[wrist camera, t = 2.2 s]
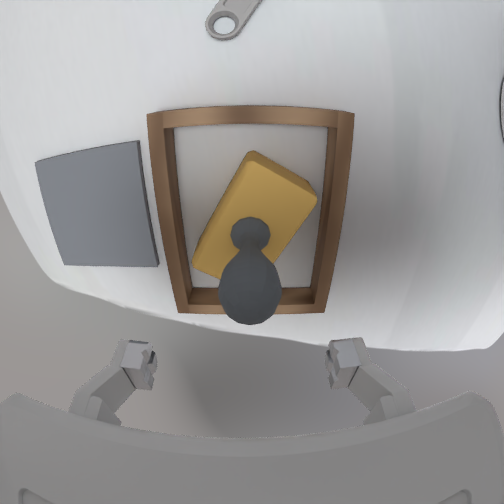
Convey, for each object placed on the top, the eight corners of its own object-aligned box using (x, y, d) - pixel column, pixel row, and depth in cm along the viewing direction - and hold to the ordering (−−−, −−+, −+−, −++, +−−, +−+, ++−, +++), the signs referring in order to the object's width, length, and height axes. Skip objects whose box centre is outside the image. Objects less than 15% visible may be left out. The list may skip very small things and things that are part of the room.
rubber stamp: (249, 148, 20) (247, 208, 10) (311, 183, 22) (360, 269, 12) (196, 243, 25) (165, 349, 15) (251, 269, 26) (251, 378, 16)
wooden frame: (343, 111, 18) (354, 113, 16) (319, 296, 28) (324, 312, 26) (157, 111, 18) (146, 114, 16) (182, 296, 28) (178, 312, 26)
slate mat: (139, 140, 20) (136, 141, 19) (159, 263, 26) (157, 266, 25) (38, 160, 20) (34, 162, 19) (66, 262, 26) (64, 265, 25)
